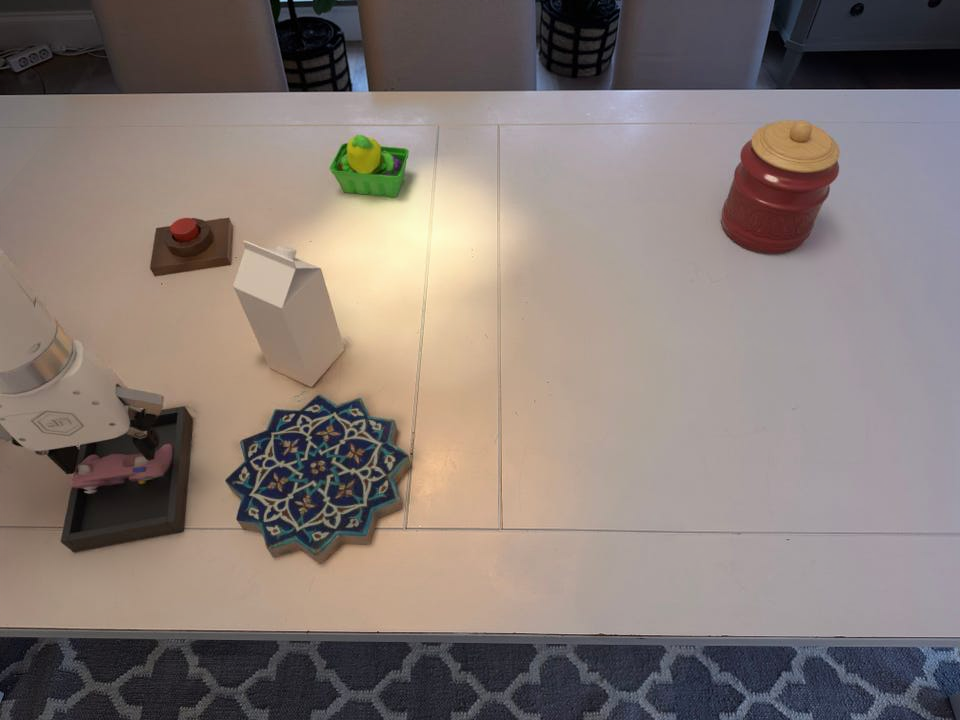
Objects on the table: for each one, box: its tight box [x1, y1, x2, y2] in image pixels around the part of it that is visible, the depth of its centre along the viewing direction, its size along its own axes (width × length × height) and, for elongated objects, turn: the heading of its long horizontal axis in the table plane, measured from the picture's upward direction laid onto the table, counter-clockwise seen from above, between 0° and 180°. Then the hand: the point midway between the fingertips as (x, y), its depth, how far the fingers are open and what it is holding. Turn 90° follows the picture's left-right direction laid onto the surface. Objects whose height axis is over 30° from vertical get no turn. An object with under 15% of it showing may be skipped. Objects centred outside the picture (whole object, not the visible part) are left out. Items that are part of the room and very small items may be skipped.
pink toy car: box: [71, 444, 174, 494], centre depth 75 cm, size 10×5×7 cm, turn 99°
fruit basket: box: [328, 134, 410, 198], centre depth 106 cm, size 11×9×11 cm
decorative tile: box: [225, 393, 412, 565], centre depth 76 cm, size 20×20×2 cm
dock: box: [60, 405, 194, 553], centre depth 76 cm, size 12×15×3 cm
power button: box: [170, 217, 200, 243], centre depth 99 cm, size 4×4×2 cm
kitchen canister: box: [721, 119, 841, 255], centre depth 95 cm, size 13×13×18 cm
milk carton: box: [232, 239, 345, 388], centre depth 81 cm, size 7×7×19 cm
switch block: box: [149, 217, 233, 277], centre depth 100 cm, size 11×9×4 cm
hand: (113, 454), depth 73 cm, fingers closed on pink toy car, 7 cm apart
